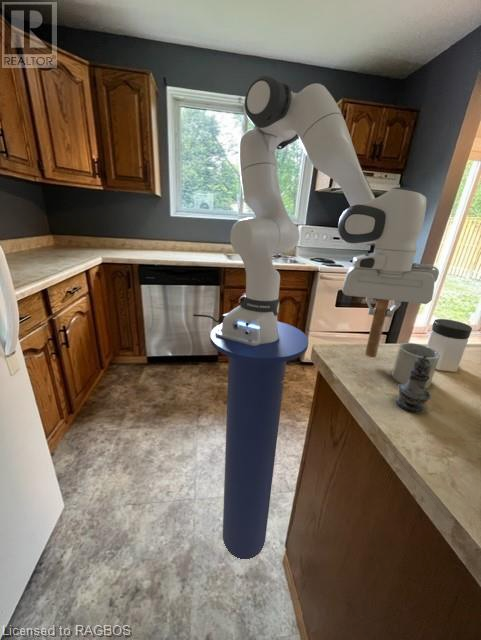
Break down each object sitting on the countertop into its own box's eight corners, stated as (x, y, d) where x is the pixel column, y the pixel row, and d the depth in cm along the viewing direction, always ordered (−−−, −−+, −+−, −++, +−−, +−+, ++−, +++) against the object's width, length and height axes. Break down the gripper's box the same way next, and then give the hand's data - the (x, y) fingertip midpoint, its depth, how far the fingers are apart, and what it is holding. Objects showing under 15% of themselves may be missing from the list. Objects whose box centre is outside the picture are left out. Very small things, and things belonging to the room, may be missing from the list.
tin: (395, 384, 65) (404, 354, 62) (389, 368, 72) (396, 340, 69) (434, 391, 62) (445, 361, 60) (423, 374, 70) (432, 346, 67)
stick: (365, 356, 73) (380, 291, 67) (364, 352, 76) (378, 289, 70) (376, 358, 73) (392, 293, 66) (375, 353, 75) (390, 290, 69)
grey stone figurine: (388, 401, 58) (402, 351, 54) (403, 393, 61) (417, 345, 57) (416, 418, 53) (434, 364, 49) (431, 408, 56) (449, 357, 52)
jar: (448, 359, 79) (461, 320, 74) (465, 373, 71) (481, 331, 67) (415, 355, 80) (426, 317, 76) (429, 369, 72) (442, 327, 68)
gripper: (436, 263, 66) (421, 317, 70) (347, 257, 71) (338, 307, 76) (446, 267, 60) (429, 325, 65) (348, 259, 65) (339, 313, 70)
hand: (379, 315), depth 70 cm, fingers closed on stick, 3 cm apart
